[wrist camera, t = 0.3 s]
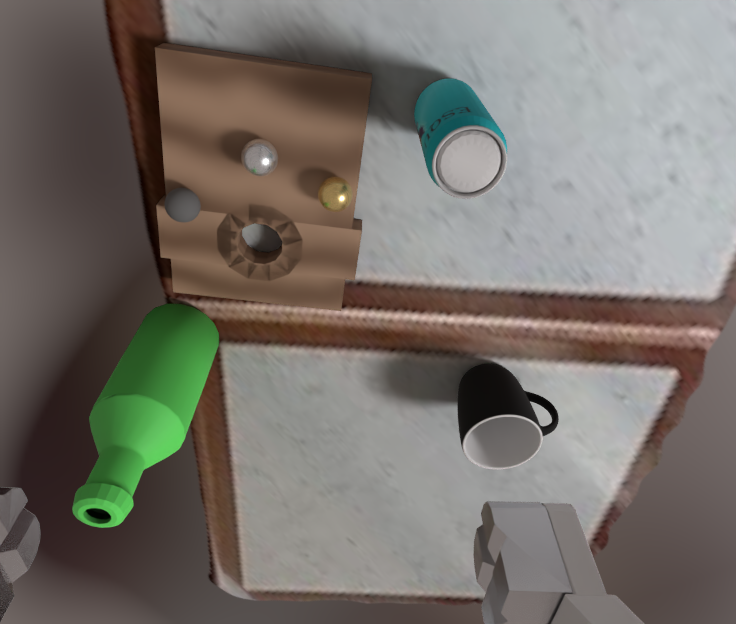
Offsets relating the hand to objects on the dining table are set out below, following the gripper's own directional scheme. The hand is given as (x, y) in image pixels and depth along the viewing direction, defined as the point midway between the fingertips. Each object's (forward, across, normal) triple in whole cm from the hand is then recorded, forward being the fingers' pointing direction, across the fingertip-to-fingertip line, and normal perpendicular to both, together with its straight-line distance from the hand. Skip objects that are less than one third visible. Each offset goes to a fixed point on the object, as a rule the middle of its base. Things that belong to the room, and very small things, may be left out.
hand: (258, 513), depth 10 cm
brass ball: (+42, 0, +11) cm, 43 cm away
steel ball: (+42, +7, +8) cm, 43 cm away
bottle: (+46, +18, +31) cm, 58 cm away
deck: (+46, +8, +13) cm, 48 cm away
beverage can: (+46, -9, +4) cm, 47 cm away
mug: (+46, -20, +37) cm, 62 cm away
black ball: (+42, +15, +13) cm, 46 cm away
